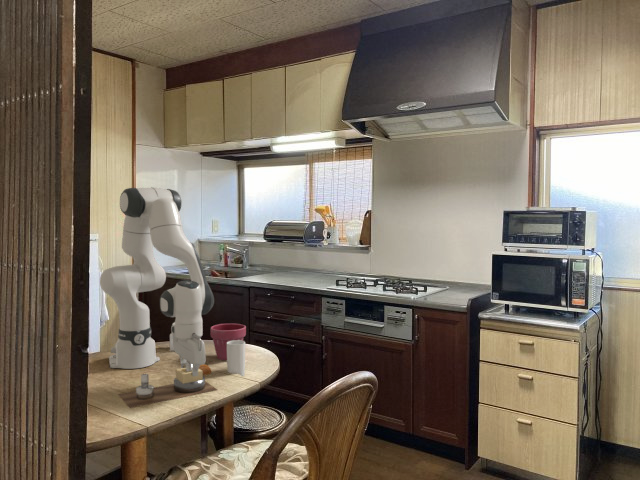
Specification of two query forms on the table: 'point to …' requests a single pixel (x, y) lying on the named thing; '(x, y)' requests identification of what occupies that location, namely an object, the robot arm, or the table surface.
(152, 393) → the silver knob
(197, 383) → the hub
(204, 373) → the pastry
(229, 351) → the mug
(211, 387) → the base board
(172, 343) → the medicine bottle
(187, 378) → the collar
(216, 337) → the plant pot
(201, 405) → the table surface
